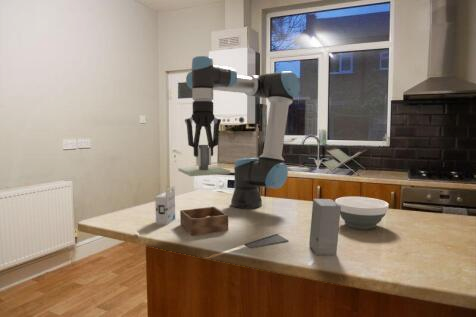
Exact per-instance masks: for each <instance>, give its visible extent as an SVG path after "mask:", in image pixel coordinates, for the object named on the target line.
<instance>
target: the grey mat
mask: <svg viewBox="0 0 476 317" xmlns="http://www.w3.org/2000/svg"><path fill="white" fill-rule="evenodd" d="M282 242H283V243H286V242H289V239H287V238H285V237H284V236H281V235H280V234H278V233H275V234H272V235H269V236H266V237H262V238H259V239H257V240H253V241H250V242H247V243H246V242H245V243H244V246H245V247H246V246H247V249H249V248H250V249H255V248H259V246H261V247H266V246H271V244H272V245H276V244H281V243H282ZM265 245H266V246H265ZM254 247H255V248H254Z"/></svg>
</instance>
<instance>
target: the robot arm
mask: <svg viewBox="0 0 476 317" xmlns="http://www.w3.org/2000/svg"><path fill="white" fill-rule="evenodd" d="M185 82H186V86H187V87H188V88H189V89H191V90H192V92H191V93H192V94H191V95H192V114H191V116H190V117H189V118H185V119H184V123H185V125H186V131H187V134H186V135H187V143H188V145H187V146H189V147H192V148H193V157H195V163H196V167H199V166H201V158H200V148H199V145H200V138H201V131H202V128H204V129H205V133H206V139H207V145H208V166H212V157H213V156H214V148H215V147H216V146H218V145H219V138H220V137H219V135H220V134H219V133H220V125H221V123H222V122H221V121H222V120H221V118H217V117H215V115H214V102H213V100H214V91H222V92H230V93H241V94H245V95H246V96H250V97H256V98H260V99H261V98H263V99H267V101H268V102H269V111H268V118H267V124H266V130H265V138H264V145H263V152H262V154H261V155H259V156H258V157H247V158H238V159H236V160H235V161H234V191H233V194H232V197H231V200H230V205H231V206H232V207H234V208H237V209H238V208H239V209H256V208H260V207H262V206H263V200H262V197H261V193H260V190H259V187H263V188H267V189H279V188H281V187H283V185H285V183H286V181H287V179H288V174H289V169H288V166H287V164H285V159H284V158H283V156H282V154H283V149H284V148H283V147H284V141H285V134H286V127H287V123H288V122H287V121H288V116H289V115H288V114H289V106H290V105H292V104H293V101H294V98H296V97H297V96H298V95H299V94H300V91H301V90H300V89H301V84H300V81H299V77H298V76H297V75H296V73H295V72H293V71H290V70H289V71H286V70H285V71H284V70H283V71H279V72H270V73H264V74H256V75H254V74H253V75H252V74H250V75H249V74H248V75H247V76H246V75H245V76H244V75H239V74H238V72H237V71H236V69H235V68H232V67H229V66H223V65H216V64H214V60H213V58H212V57H211V56H208V55H207V56H205V55H200V56H199V55H198V56H195V57H193V58H192V62H191V71H189V72H188V73H187V75H186V76H185ZM193 122H194V124H195V131H194V132H193ZM212 123H213V134H212V126H211V124H212ZM193 136H194V137H193Z"/></svg>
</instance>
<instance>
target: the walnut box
mask: <svg viewBox="0 0 476 317" xmlns="http://www.w3.org/2000/svg"><path fill="white" fill-rule="evenodd" d="M179 212H180V214H179V216H180V218H179V219H180V226H181V227H182V228H183V229H184V230H185V231H186V232H187V233H188V234H189V235H190V236H191V237H192V236H199V235H207V234H213V233H219V232H226V231H227V232H228V231H229V214H227V213H225V212H224V211H222V210H220V209H219V208H217V207H216V206H207V207H198V208H191V209H181V210H180V211H179ZM207 216H210V217H207ZM193 218H195V219H193Z"/></svg>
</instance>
